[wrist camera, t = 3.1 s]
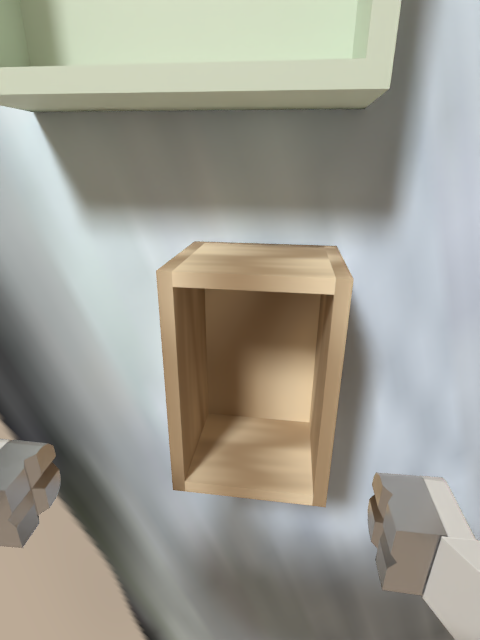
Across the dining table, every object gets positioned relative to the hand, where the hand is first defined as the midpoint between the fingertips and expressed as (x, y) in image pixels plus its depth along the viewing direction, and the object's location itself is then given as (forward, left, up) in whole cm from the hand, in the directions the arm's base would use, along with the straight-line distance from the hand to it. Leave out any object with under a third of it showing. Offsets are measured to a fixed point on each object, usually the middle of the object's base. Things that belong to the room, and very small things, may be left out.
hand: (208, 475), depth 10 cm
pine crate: (-1, 0, -9) cm, 9 cm away
